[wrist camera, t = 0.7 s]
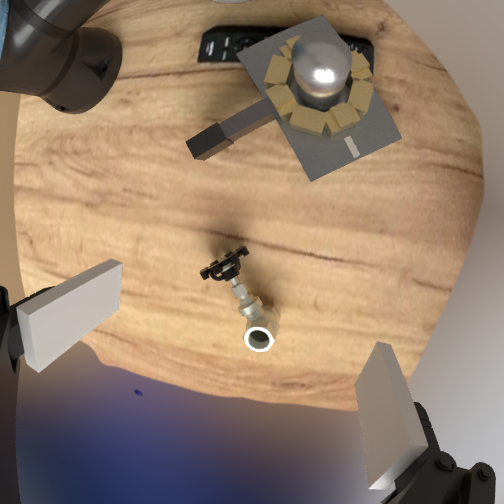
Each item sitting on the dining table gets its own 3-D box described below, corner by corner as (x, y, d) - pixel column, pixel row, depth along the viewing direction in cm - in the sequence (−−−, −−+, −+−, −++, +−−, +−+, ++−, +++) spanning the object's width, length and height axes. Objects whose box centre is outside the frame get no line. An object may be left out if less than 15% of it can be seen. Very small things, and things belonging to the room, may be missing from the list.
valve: (295, 318, 40) (250, 240, 38) (292, 343, 33) (238, 252, 32) (253, 336, 41) (208, 263, 40) (243, 362, 35) (190, 279, 34)
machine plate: (241, 62, 33) (210, 15, 21) (322, 25, 30) (323, -32, 17) (310, 182, 35) (311, 182, 23) (395, 141, 32) (435, 123, 19)
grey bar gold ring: (180, 115, 33) (165, 108, 29) (334, 35, 27) (337, 20, 23) (221, 193, 34) (210, 195, 30) (384, 112, 29) (393, 103, 25)
